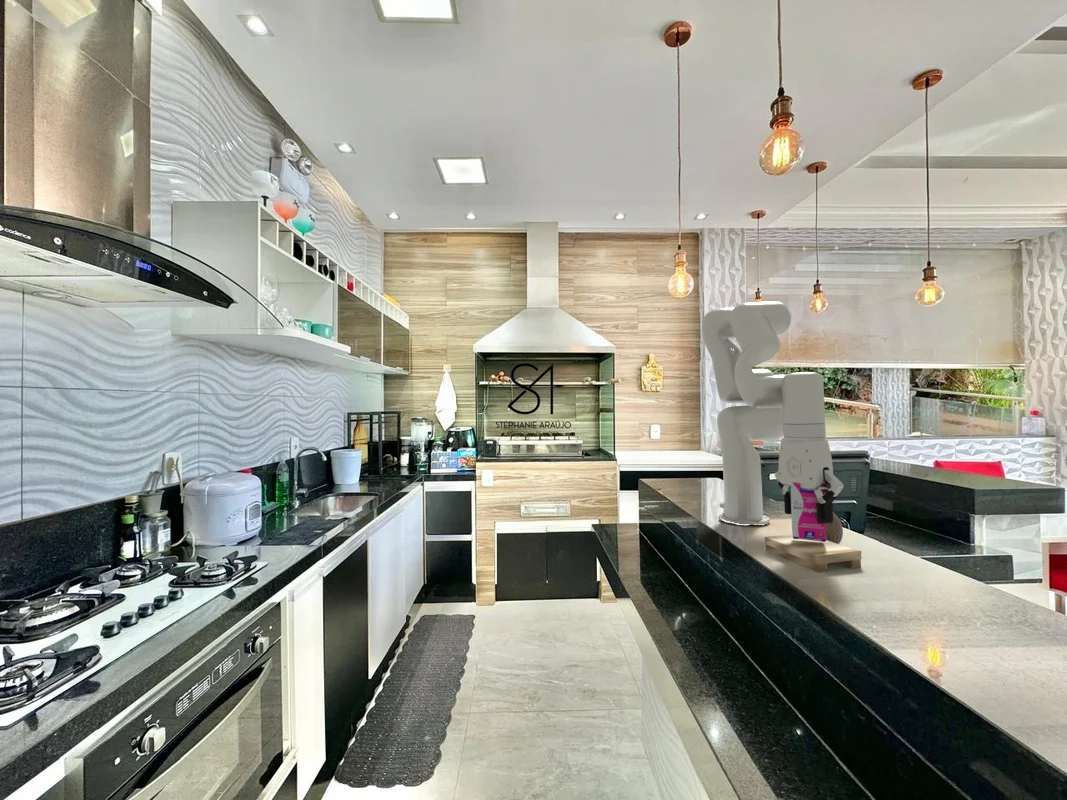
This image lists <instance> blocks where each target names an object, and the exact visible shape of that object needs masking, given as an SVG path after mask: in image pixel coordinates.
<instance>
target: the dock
mask: <svg viewBox="0 0 1067 800" xmlns="http://www.w3.org/2000/svg"><path fill="white" fill-rule="evenodd" d="M764 544H765V551H766V552H768V553H770V554H773V555H775V556H778V557H781V558H782V559H784V560H787V561H790V562H792V563H795V564H797V565H800V566H802V567H805V568H806V569H809V570H811V571H813V572H817V573H824V572H825V573H826V572H828V564H832V563H836V564H840V565H842V566H845V567H848V568H850V569H858V568H859V569H860V568H861V567H862V561H861V560H862V551H861V550H859V549H856V548H851V547H848V546H845V545H842V544H840V543H839V544H837V543H833V542H830V541H827V540H826V542H820V541H813V540H803V539H793V534H792V533H791V534H781V535H780V534H779V535H771V536H764Z"/></svg>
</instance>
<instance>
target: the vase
mask: <svg viewBox="0 0 1067 800" xmlns="http://www.w3.org/2000/svg"><path fill="white" fill-rule="evenodd" d="M825 527H826V540H827V541H830V542H833V543H837V544H840V543H841V542H842V540H843V536H844V529H843V525H842V522H841V519H839V517H838V516H837V515H836V514H835V513H834V512H833V522H832V523H825Z"/></svg>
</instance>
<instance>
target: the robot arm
mask: <svg viewBox="0 0 1067 800" xmlns="http://www.w3.org/2000/svg"><path fill="white" fill-rule="evenodd" d="M791 321H792V317H791V312H790V309H789V308H788V306H787V305H786V304H785V303H783V302H780V301H759V302H756V301H755V302H744V303H741V304H738V305H736V306H734V307H721V308H717V309H713V310H710V311H708V312H707V313H706V314H705V315H704V316H703V319H702V323H701V333H702V338H703V342H704V345H705V347H706V349H707V351H708V353H709V356H710V357H711V361H712V365H713V373H714V378H715V384H716V390H717V395H718V396H719V399H720V400H721V402H724V403H727V404H744V405H734V406H729V407H728V406H727V407H726V408H724V409H721V411H720V412H719V413H718V416H717V419H716V420H717V421H716V422H717V423H716V424H717V430H718V434H719V438H720V444H721V445H720V446H721V453H722V455H721V456H722V457H721V458H722V473H723V475H722V476H723V478H722V479H723V494H724V496H723V498H724V501H723V502H721V503H719V508H721V509H723V513H720V514H719V515H718V518H719V517H720V518H721V519H724V520H726V521H730V522H734V523H739V524H750V525H754V524H757V525H758V524H766V523H768V522H770V520H771V519H770V517H769V516H767V515H764V508H763V505H764V504H763V491H762V490H763V483H762V465H761V456H760V454H759V452H758V450H757V449H756V447H754V445H753V444H752V443H751V441H767V440H768V441H769V440H771V441H772V440H779V439H781V440H780V444H779V452H778V470H777V471H775V473H774V477H775V478H776V480H777V482H778V486H779V487H780V489H781V495H783V501H784V503H783V504H784V513H785V514H786V515H791V488H790V487H791V482H793V483H798V484H800V487H801V488H802V489H805V490H814V492H815V494H816V496H817V498H818V500H819V502H820V503H816V510H817V522H818V523H820V524H824V523H832V522H833V513H834V507H833V506H834V505H833V504H834V503H836V499H837V498H838V497H839V496H840V493H841V492H842V490H843V489H844V483H843V482H842V481H841V480H839V478H838V477H836V476H835V475H834V465H833V460H832V459H833V458H832V454H831V448H830V445H829V441H828V439H827V434H826V433H827V432H826V431H827V429H826V412H825V411H826V408H825V391H824V390H825V389H824V378H823V376H822V375H821V374H820V373H819V372H816V371H814V372H813V371H806V372H792V373H787V374H775V373H774V372H773V371H771V370H770V369H767V368H757V369H756V368H754V367H756V366H758V365H760V364H761V365H762V364H763V363H764V362H767V361H769V360H771V359H772V358H774V357H775V356H776V355H777V353H778V352H779V351H780V349H781V341H780V338H779V335H781V334H782V335H783V333H785V332H786V331H788V329H789V328H790V325H791V323H792V322H791ZM730 338H735V339H736V341H737V343H738V346H739V347H738V346H737V344H735V343H734V342H733V341H732V340H730ZM753 368H754V369H753ZM821 484H823V485H824V486H822V487H820V486H821ZM822 490H824V495H823V493H822ZM770 523H771V522H770Z"/></svg>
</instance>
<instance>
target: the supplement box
mask: <svg viewBox="0 0 1067 800" xmlns="http://www.w3.org/2000/svg"><path fill="white" fill-rule="evenodd" d="M822 486H824V485H823V484H821V486H820V487H822ZM790 488H791V514H790V517H791V534H793V539H803V540H813V541H820V542H826V527H825V523H824V524H820V523H818V522H817V510H816V503H820V502H819V500H818V498H817V496H816V494H815V492H814V490H805V489H802V488H801V487H800V484H798V483H793V482H791V487H790ZM822 493H823V495H825V493H824V490H822Z"/></svg>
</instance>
